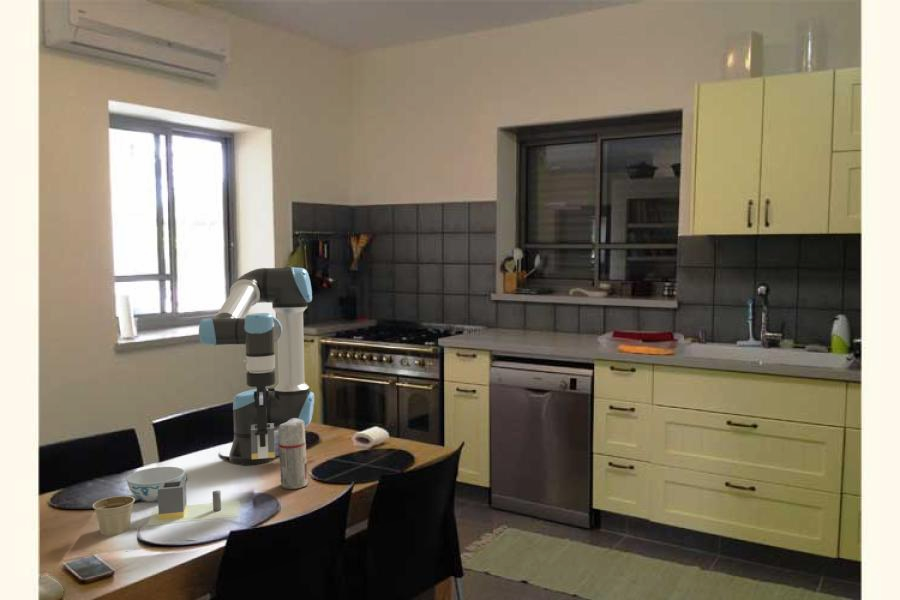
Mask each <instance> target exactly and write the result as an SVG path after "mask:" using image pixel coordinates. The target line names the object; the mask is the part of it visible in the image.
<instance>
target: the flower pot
mask: <svg viewBox="0 0 900 600" xmlns="http://www.w3.org/2000/svg"><path fill="white" fill-rule="evenodd" d="M135 501H136V497H135V496H134V497H133V496H129V495H115V496H110V497H106V498H101V499H100V500H97V501H96V502H94V503H93V504H92V508H93V509H94V512H95V514H96V516H97V517H96V518H97V522H98V526H99V532H100V534H101V535H102V536H108V537H109V536H117V535H122V534H124V533H127V532H128V531H129V530H130V527H131V518H132V510H133V507H134V503H135Z"/></svg>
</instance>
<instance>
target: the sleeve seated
mask: <svg viewBox="0 0 900 600" xmlns="http://www.w3.org/2000/svg"><path fill="white" fill-rule="evenodd" d="M157 505H158V509H159V520H164V519H174V518H184V515H185V513H186V510H187V505H188V504H187V484H186V479H183V480H180V481H168V482H161V484H160V486H159V488H158V501H157Z"/></svg>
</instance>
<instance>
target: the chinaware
mask: <svg viewBox="0 0 900 600" xmlns="http://www.w3.org/2000/svg"><path fill="white" fill-rule="evenodd" d="M184 477H185V470H184V469H183V468H181V467H177V466H175V467H174V466H159V467H158V466H157V467H156V466H155V467H150V468H145V469H142V470H138V471H135V472H133V473H131V474H129V475H128V476H126V483H127V486H128V488H129V491H130V492H131V493H132V494H133V496H134V498H136V499H138V500H140V501H142V502H147V503H151V502H152V503H154V502H158V488H159V486H160V484H161V482H168V481H180V480H184Z"/></svg>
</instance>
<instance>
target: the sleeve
mask: <svg viewBox="0 0 900 600" xmlns="http://www.w3.org/2000/svg"><path fill="white" fill-rule="evenodd" d="M260 430H262V429H260ZM267 430H268V458H274V457H275V450H276V446H275V428H274V423H268V424H267ZM255 433H257V424H254V425H251V453H252V459H258V444H257V435H255ZM275 458H276V457H275ZM275 458H274V459H275ZM261 459H262V458H261Z"/></svg>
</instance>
